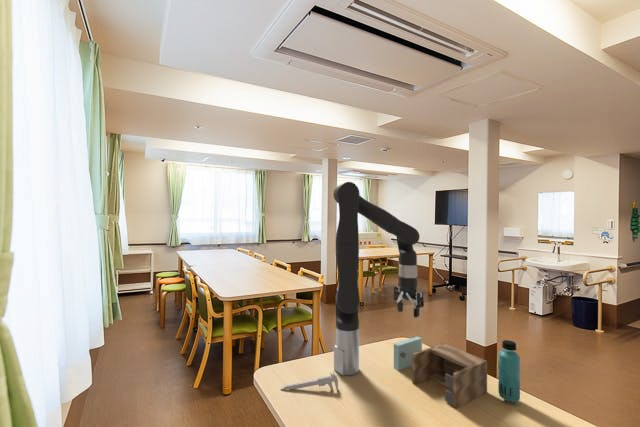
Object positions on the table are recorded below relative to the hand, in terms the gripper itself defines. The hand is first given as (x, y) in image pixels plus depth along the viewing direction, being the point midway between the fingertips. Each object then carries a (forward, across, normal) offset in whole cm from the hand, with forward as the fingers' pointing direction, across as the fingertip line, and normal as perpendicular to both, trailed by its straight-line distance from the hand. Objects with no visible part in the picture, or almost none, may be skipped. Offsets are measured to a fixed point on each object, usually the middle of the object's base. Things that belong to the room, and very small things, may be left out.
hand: (408, 314), depth 133 cm
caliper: (+21, -6, -44) cm, 49 cm away
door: (+21, 0, 0) cm, 21 cm away
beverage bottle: (+21, +36, +9) cm, 43 cm away
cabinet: (+21, +20, -1) cm, 29 cm away
